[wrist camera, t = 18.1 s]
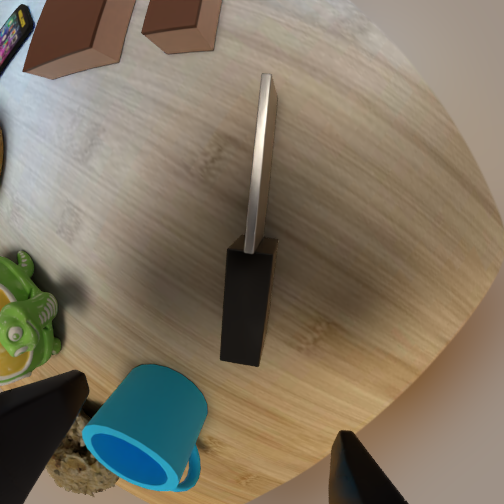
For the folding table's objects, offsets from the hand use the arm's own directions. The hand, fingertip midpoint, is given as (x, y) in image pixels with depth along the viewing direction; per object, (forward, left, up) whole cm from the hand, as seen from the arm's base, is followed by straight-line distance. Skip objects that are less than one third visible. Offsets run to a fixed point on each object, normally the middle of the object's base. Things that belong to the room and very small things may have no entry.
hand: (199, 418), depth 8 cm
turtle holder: (+23, +6, -12) cm, 27 cm away
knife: (0, -5, -12) cm, 13 cm away
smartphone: (+34, -22, -12) cm, 42 cm away
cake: (+16, -20, -12) cm, 28 cm away
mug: (+6, +14, -12) cm, 20 cm away
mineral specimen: (+18, +22, -12) cm, 31 cm away
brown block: (+6, -20, -12) cm, 24 cm away
